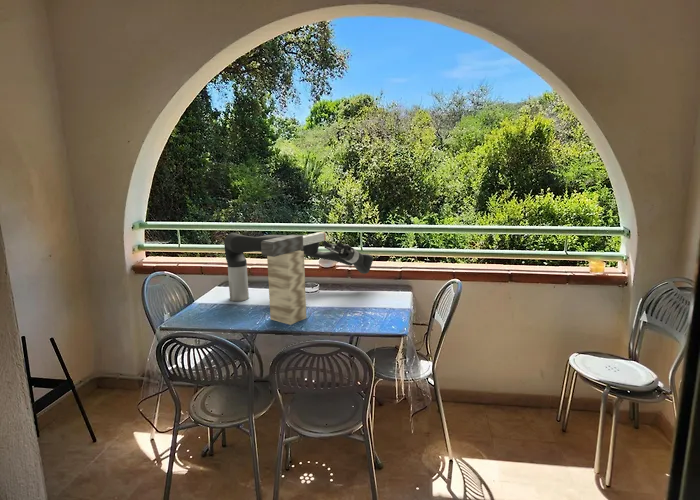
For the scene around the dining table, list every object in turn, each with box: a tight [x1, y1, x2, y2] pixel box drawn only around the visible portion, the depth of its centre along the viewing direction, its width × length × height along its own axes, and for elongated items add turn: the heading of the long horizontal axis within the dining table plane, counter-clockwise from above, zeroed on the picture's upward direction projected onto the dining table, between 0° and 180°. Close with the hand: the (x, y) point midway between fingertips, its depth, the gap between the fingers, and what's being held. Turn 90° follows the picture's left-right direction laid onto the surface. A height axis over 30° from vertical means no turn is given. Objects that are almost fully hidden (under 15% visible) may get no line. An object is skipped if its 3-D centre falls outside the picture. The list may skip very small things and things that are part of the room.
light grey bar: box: [303, 231, 327, 246], centre depth 202 cm, size 24×4×4 cm, turn 144°
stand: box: [260, 234, 307, 326], centre depth 193 cm, size 19×12×36 cm, turn 144°
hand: (330, 243), depth 217 cm, fingers open, 8 cm apart
